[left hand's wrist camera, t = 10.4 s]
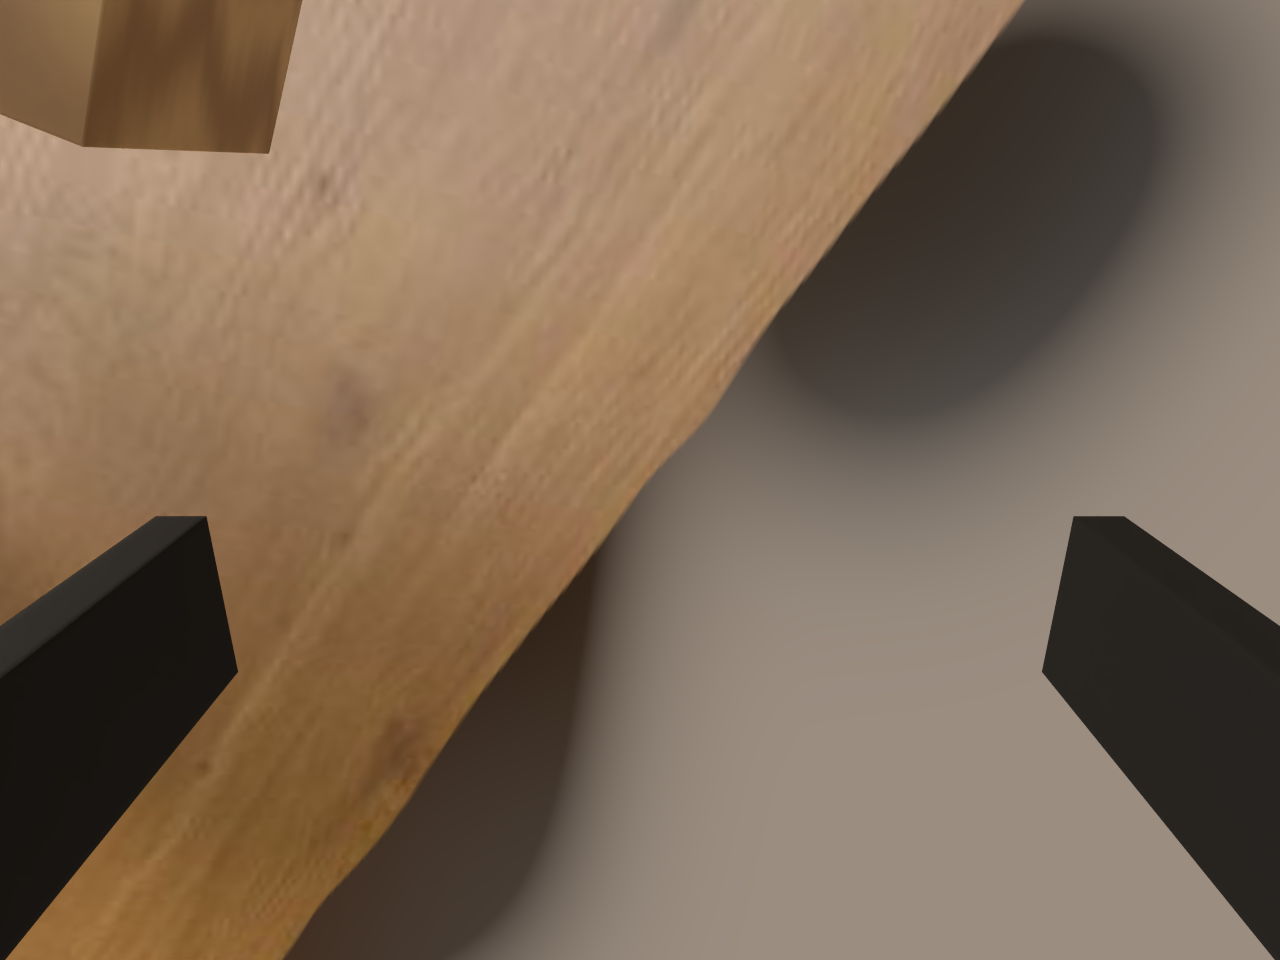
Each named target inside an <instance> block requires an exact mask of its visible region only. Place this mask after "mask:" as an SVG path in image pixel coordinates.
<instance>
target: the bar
mask: <svg viewBox="0 0 1280 960" xmlns="http://www.w3.org/2000/svg"><path fill="white" fill-rule="evenodd" d="M301 4H302V0H0V114H1V115H4V116H6V117H9V118H11V119H14V120H16V121H19V122H21V123H24V124H26V125H29V126H32V127H34V128H37V129H39V130H42V131H44V132H47V133H49V134H52V135H54V136H57V137H59V138H62V139H64V140H67V141H69V142H72V143H75V144H77V145H80V146H82V147H102V148H129V149H156V150H183V151H209V152H236V153H263V154H268V153H269V151H270V146H271V142H272V137H273V133H274V128H275V123H276V119H277V114H278V110H279V105H280V100H281V96H282V91H283V87H284V82H285V77H286V73H287V68H288V64H289V59H290V54H291V50H292V45H293V41H294V36H295V31H296V27H297V22H298V18H299V13H300V8H301Z"/></svg>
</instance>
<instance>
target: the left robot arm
mask: <svg viewBox="0 0 1280 960" xmlns="http://www.w3.org/2000/svg"><path fill="white" fill-rule="evenodd" d="M237 672H238V669H237V664H236V660H235V655H234V650H233V645H232V640H231V635H230V630H229V625H228V620H227V615H226V610H225V606H224V601H223V596H222V591H221V586H220V581H219V576H218V571H217V566H216V561H215V556H214V551H213V547H212V542H211V537H210V532H209V527H208V522H207V517H206V516H156V517H154V518H153V519H151V520H150V521H149V522H147V523H146V524H144V525H143V526H141V527H140V528H139V529H137V530H136V531H134V532H133V533H132V534H130V535H129V536H127V537H126V538H124V539H123V540H122V541H120V542H119V543H117V544H116V545H115V546H113V547H112V548H110V549H109V550H107V551H106V552H105V553H103V554H102V555H100V556H99V557H98V558H96V559H95V560H93V561H92V562H90V563H89V564H88V565H86V566H85V567H83V568H82V569H81V570H79V571H78V572H76V573H75V574H73V575H72V576H71V577H69V578H68V579H66V580H65V581H63V582H62V583H61V584H59V585H58V586H56V587H55V588H54V589H52V590H51V591H49V592H48V593H46V594H45V595H44V596H42V597H41V598H39V599H38V600H37V601H35V602H34V603H32V604H31V605H29V606H28V607H27V608H25V609H24V610H22V611H21V612H20V613H18V614H17V615H15V616H14V617H12V618H11V619H10V620H8V621H7V622H5V623H4V624H3V625H1V626H0V960H5V959H6V958H7V957H8V956H9V954H10V953H11V952H12V951H13V949H14V948H15V947H16V946H17V945H18V943H19V942H20V941H21V940H22V938H23V937H24V936H25V935H26V933H27V932H28V931H29V930H30V928H31V927H32V926H33V925H34V923H35V922H36V921H37V920H38V919H39V917H40V916H41V915H42V914H43V912H44V911H45V910H46V909H47V907H48V906H49V905H50V904H51V902H52V901H53V900H54V899H55V898H56V896H57V895H58V894H59V893H60V891H61V890H62V889H63V888H64V886H65V885H66V884H67V883H68V881H69V880H70V879H71V878H72V877H73V875H74V874H75V873H76V872H77V870H78V869H79V868H80V867H81V865H82V864H83V863H84V862H85V860H86V859H87V858H88V857H89V855H90V854H91V853H92V852H93V851H94V849H95V848H96V847H97V846H98V844H99V843H100V842H101V841H102V839H103V838H104V837H105V836H106V834H107V833H108V832H109V831H110V830H111V828H112V827H113V826H114V825H115V823H116V822H117V821H118V820H119V818H120V817H121V816H122V815H123V813H124V812H125V811H126V810H127V809H128V807H129V806H130V805H131V804H132V802H133V801H134V800H135V799H136V797H137V796H138V795H139V794H140V792H141V791H142V790H143V789H144V787H145V786H146V785H147V784H148V783H149V781H150V780H151V779H152V778H153V776H154V775H155V774H156V773H157V771H158V770H159V769H160V768H161V766H162V765H163V764H164V763H165V762H166V760H167V759H168V758H169V757H170V755H171V754H172V753H173V752H174V750H175V749H176V748H177V747H178V745H179V744H180V743H181V742H182V740H183V739H184V738H185V737H186V736H187V734H188V733H189V732H190V731H191V729H192V728H193V727H194V726H195V724H196V723H197V722H198V721H199V719H200V718H201V717H202V716H203V715H204V713H205V712H206V711H207V710H208V708H209V707H210V706H211V705H212V703H213V702H214V701H215V700H216V698H217V697H218V696H219V695H220V694H221V692H222V691H223V690H224V689H225V687H226V686H227V685H228V684H229V682H230V681H231V680H232V679H233V677H234V676H235V675H236V674H237ZM1042 672H1043V674H1044V675H1045V676H1046V677H1047V679H1048V680H1049V681H1050V682H1051V684H1052V685H1053V686H1054V687H1055V689H1056V690H1057V691H1058V692H1059V693H1060V695H1061V696H1062V697H1063V698H1064V700H1065V701H1066V702H1067V703H1068V705H1069V706H1070V707H1071V708H1072V710H1073V711H1074V712H1075V713H1076V715H1077V716H1078V717H1079V718H1080V719H1081V721H1082V722H1083V723H1084V724H1085V726H1086V727H1087V728H1088V729H1089V731H1090V732H1091V733H1092V734H1093V736H1094V737H1095V738H1096V739H1097V741H1098V742H1099V743H1100V744H1101V745H1102V747H1103V748H1104V749H1105V750H1106V752H1107V753H1108V754H1109V755H1110V756H1111V758H1112V759H1113V760H1114V762H1115V763H1116V764H1117V765H1118V766H1119V768H1120V769H1121V770H1122V771H1123V773H1124V774H1125V775H1126V776H1127V778H1128V779H1129V780H1130V781H1131V782H1132V784H1133V785H1134V786H1135V787H1136V789H1137V790H1138V791H1139V792H1140V794H1141V795H1142V796H1143V797H1144V799H1145V800H1146V801H1147V802H1148V804H1149V805H1150V806H1151V807H1152V808H1153V810H1154V811H1155V812H1156V813H1157V815H1158V816H1159V817H1160V818H1161V820H1162V821H1163V822H1164V823H1165V825H1166V826H1167V827H1168V828H1169V830H1170V831H1171V832H1172V833H1173V834H1174V836H1175V837H1176V838H1177V839H1178V841H1179V842H1180V843H1181V844H1182V846H1183V847H1184V848H1185V849H1186V851H1187V852H1188V853H1189V854H1190V855H1191V857H1192V858H1193V859H1194V860H1195V862H1196V863H1197V864H1198V865H1199V867H1200V868H1201V869H1202V870H1203V872H1204V873H1205V874H1206V875H1207V877H1208V878H1209V879H1210V880H1211V881H1212V883H1213V884H1214V885H1215V886H1216V888H1217V889H1218V890H1219V891H1220V893H1221V894H1222V895H1223V896H1224V898H1225V899H1226V900H1227V901H1228V902H1229V904H1230V905H1231V906H1232V907H1233V909H1234V910H1235V911H1236V912H1237V914H1238V915H1239V916H1240V917H1241V919H1242V920H1243V921H1244V922H1245V923H1246V925H1247V926H1248V927H1249V928H1250V930H1251V931H1252V932H1253V933H1254V935H1255V936H1256V937H1257V938H1258V940H1259V941H1260V942H1261V943H1262V944H1263V946H1264V947H1265V948H1266V949H1267V951H1268V952H1269V953H1270V954H1271V956H1272V957H1273V958H1274V959H1275V960H1280V626H1279V625H1277V624H1276V623H1275V622H1273V621H1272V620H1270V619H1269V618H1268V617H1266V616H1265V615H1263V614H1262V613H1260V612H1259V611H1257V610H1256V609H1255V608H1253V607H1252V606H1251V605H1249V604H1248V603H1246V602H1245V601H1243V600H1242V599H1241V598H1239V597H1238V596H1236V595H1235V594H1233V593H1232V592H1231V591H1229V590H1228V589H1226V588H1225V587H1224V586H1222V585H1221V584H1219V583H1218V582H1217V581H1215V580H1214V579H1212V578H1211V577H1209V576H1208V575H1206V574H1205V573H1204V572H1202V571H1201V570H1199V569H1198V568H1197V567H1195V566H1194V565H1192V564H1191V563H1189V562H1188V561H1187V560H1185V559H1184V558H1182V557H1181V556H1180V555H1178V554H1177V553H1175V552H1174V551H1173V550H1171V549H1170V548H1168V547H1167V546H1165V545H1164V544H1163V543H1161V542H1160V541H1158V540H1157V539H1155V538H1154V537H1153V536H1151V535H1150V534H1148V533H1147V532H1146V531H1144V530H1143V529H1141V528H1140V527H1138V526H1137V525H1136V524H1134V523H1133V522H1131V521H1130V520H1129V519H1127V518H1126V517H1124V516H1074V517H1073V522H1072V527H1071V532H1070V537H1069V542H1068V547H1067V551H1066V556H1065V561H1064V566H1063V571H1062V576H1061V581H1060V586H1059V591H1058V596H1057V601H1056V606H1055V611H1054V615H1053V620H1052V625H1051V630H1050V635H1049V640H1048V645H1047V650H1046V655H1045V660H1044V664H1043V669H1042Z"/></svg>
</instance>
